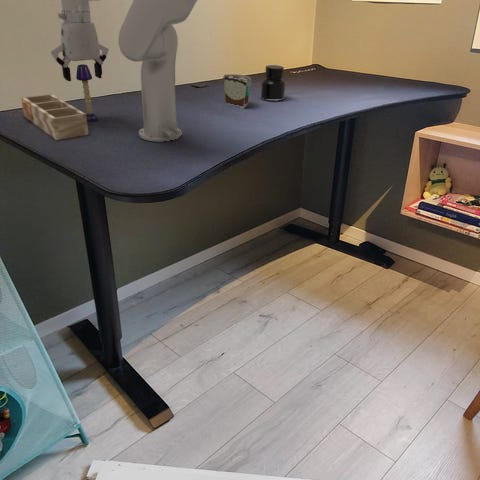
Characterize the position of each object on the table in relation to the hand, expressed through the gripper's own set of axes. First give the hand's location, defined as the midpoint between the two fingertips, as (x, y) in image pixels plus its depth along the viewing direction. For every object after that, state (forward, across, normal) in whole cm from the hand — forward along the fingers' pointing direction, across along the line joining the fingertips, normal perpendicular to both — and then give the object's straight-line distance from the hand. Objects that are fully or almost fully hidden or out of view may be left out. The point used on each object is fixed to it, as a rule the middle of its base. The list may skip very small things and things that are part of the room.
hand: (83, 78), depth 143 cm
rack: (+13, -11, -1) cm, 17 cm away
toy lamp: (+13, 0, -1) cm, 13 cm away
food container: (+12, +54, -11) cm, 57 cm away
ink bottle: (+12, +71, -11) cm, 73 cm away
